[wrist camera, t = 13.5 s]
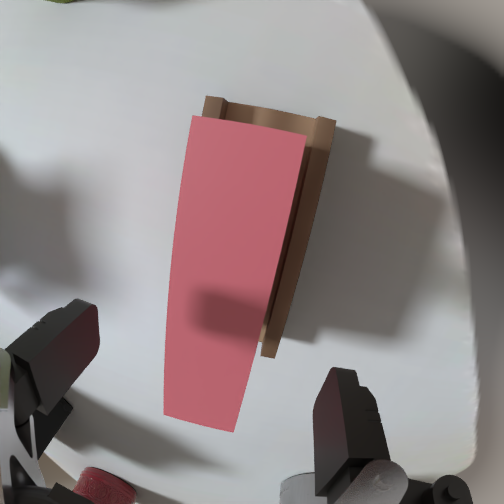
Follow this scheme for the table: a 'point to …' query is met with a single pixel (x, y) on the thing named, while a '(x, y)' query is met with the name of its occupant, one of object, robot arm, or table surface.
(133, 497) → the canister
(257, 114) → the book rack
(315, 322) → the table surface
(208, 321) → the book
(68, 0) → the plant pot
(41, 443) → the bookend
